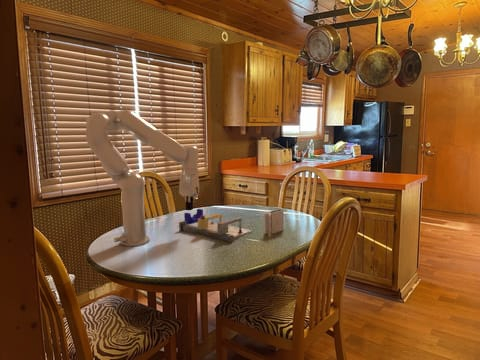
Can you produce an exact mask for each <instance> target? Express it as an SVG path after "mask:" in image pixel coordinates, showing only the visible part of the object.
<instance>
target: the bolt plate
mask: <svg viewBox="0 0 480 360" xmlns="http://www.w3.org/2000/svg"><path fill="white" fill-rule="evenodd" d="M217 223H218V222H214V221H208V228H206V229H209V230H213V231H217V232H218V227H217ZM195 226H196V227H198V225H195ZM252 232H253V230H251V229H247V228H242V232H239V226H237V227H236V226H232V225H230V224H228V233H226V234H230V235H233V239H237V238H239V237H242V236H245V235H247V234H250V233H252Z"/></svg>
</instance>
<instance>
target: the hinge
mask: <svg viewBox="0 0 480 360" xmlns="http://www.w3.org/2000/svg"><path fill="white" fill-rule="evenodd" d="M282 231H284V209H274V210H270V211H266V212H265V213H264V233H265V234H266V235H268V237H271V236H272V234H275V233H279V232H282Z"/></svg>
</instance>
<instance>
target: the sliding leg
mask: <svg viewBox="0 0 480 360" xmlns="http://www.w3.org/2000/svg"><path fill="white" fill-rule="evenodd" d="M222 216H223V215H222V213H217V214H213V215H210V216H206V215H205V214H203V215H201V218H199V219H198V221H197V226H198V229H200V230H203V229H206V228H208V222H209V221H211V220H214V219H218V218H219V222H223V217H222ZM219 222H218V223H219Z"/></svg>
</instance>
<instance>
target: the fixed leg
mask: <svg viewBox="0 0 480 360" xmlns="http://www.w3.org/2000/svg"><path fill="white" fill-rule="evenodd" d="M216 223H217V227H218V234H220V235H223V234H225V233H228V225H231V224H235V223H238V228H239V232H242V227H243V226H242V223H243V222H242V217H236V218H233V219H229V220H222V222H216Z"/></svg>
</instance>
